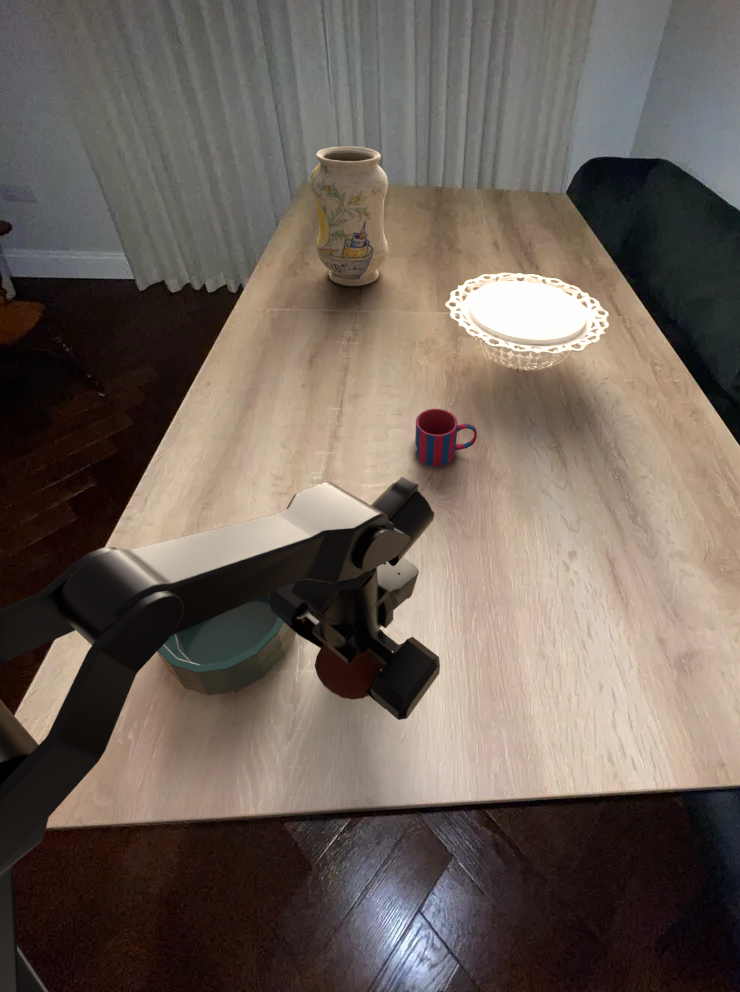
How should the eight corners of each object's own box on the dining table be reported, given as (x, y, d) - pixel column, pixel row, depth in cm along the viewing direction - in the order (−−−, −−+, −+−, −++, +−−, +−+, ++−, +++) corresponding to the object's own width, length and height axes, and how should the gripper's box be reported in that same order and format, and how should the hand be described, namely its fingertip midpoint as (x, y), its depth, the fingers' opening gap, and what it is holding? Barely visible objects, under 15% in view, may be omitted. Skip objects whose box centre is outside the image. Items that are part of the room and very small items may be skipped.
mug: (418, 436, 91) (419, 406, 87) (475, 442, 91) (479, 413, 87) (412, 464, 86) (412, 433, 82) (473, 471, 86) (477, 440, 81)
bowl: (219, 726, 55) (206, 702, 51) (140, 642, 61) (124, 615, 58) (322, 620, 65) (318, 593, 61) (245, 556, 71) (237, 528, 67)
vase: (323, 259, 144) (312, 140, 126) (389, 261, 146) (388, 144, 127) (314, 290, 130) (300, 162, 112) (387, 292, 132) (386, 166, 113)
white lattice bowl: (413, 348, 113) (414, 295, 105) (518, 309, 129) (526, 260, 121) (518, 432, 94) (529, 375, 86) (626, 373, 110) (643, 320, 102)
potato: (318, 648, 62) (312, 617, 58) (390, 638, 63) (389, 607, 59) (317, 716, 56) (310, 687, 52) (396, 703, 58) (396, 674, 53)
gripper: (477, 586, 51) (465, 662, 60) (337, 493, 59) (346, 573, 68) (403, 684, 43) (402, 753, 53) (254, 562, 51) (277, 641, 61)
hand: (355, 669), depth 59 cm, fingers closed on potato, 8 cm apart
